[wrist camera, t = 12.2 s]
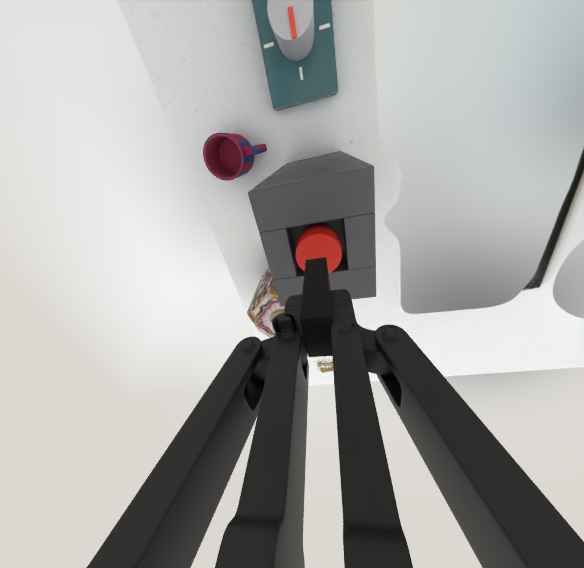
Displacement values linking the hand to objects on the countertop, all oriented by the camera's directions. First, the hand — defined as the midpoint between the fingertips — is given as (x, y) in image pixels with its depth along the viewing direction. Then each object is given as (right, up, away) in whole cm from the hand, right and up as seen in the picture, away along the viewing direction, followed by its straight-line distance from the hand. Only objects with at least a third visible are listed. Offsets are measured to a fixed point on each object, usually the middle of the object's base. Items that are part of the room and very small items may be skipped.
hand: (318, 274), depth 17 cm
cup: (-11, +23, +25) cm, 36 cm away
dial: (-1, +33, +14) cm, 36 cm away
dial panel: (-1, +35, +17) cm, 39 cm away
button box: (+3, +17, +27) cm, 33 cm away
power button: (+1, +3, +5) cm, 6 cm away
